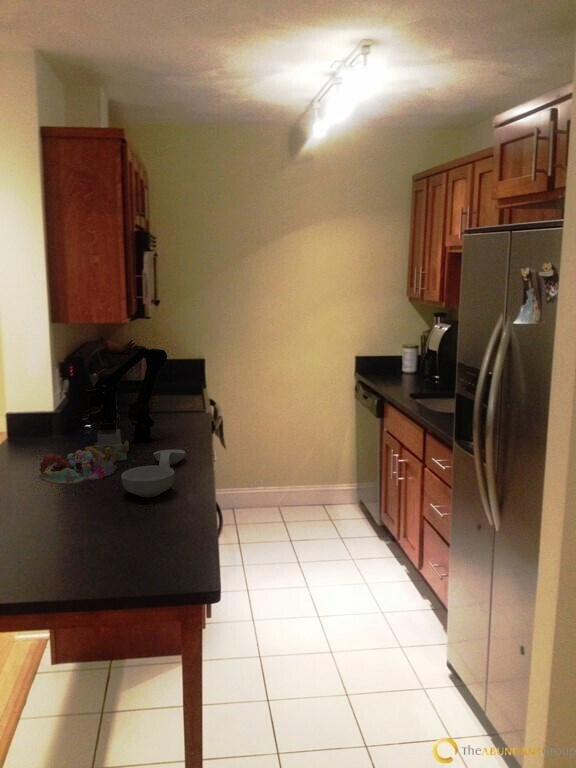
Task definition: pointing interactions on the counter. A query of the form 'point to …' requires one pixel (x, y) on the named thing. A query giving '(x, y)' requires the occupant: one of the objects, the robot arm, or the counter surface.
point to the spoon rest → (169, 457)
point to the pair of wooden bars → (115, 450)
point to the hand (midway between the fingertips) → (110, 442)
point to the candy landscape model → (79, 466)
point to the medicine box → (109, 437)
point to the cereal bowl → (148, 480)
